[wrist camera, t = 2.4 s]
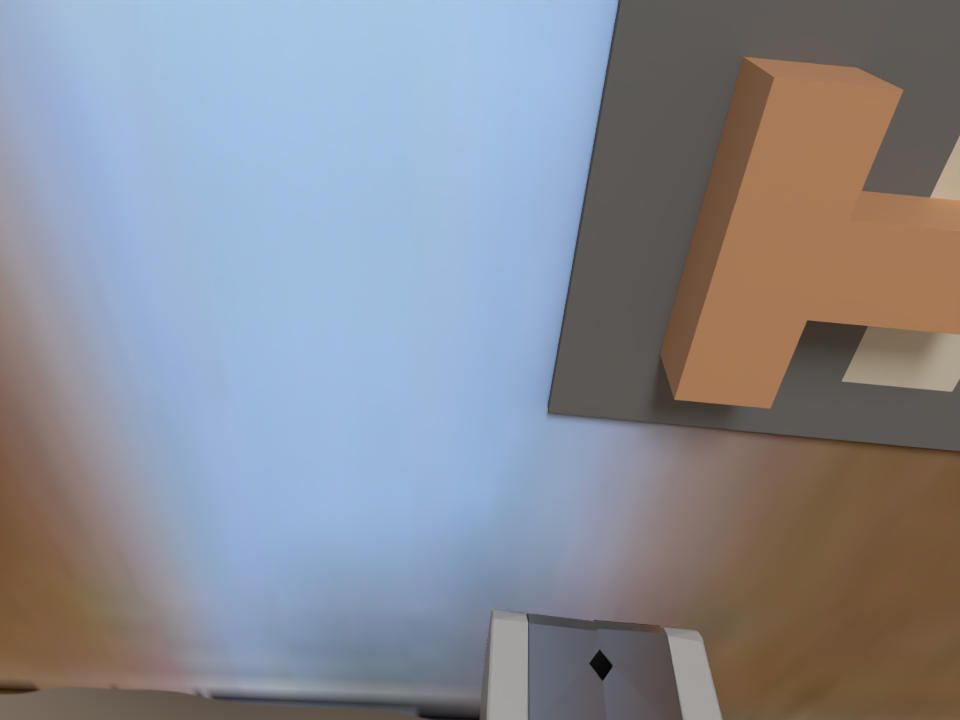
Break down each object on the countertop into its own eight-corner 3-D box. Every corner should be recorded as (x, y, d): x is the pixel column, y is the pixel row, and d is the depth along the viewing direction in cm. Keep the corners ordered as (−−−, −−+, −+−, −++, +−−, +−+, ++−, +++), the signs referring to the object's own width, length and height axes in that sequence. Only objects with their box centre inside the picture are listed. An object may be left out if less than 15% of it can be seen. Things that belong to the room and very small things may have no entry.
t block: (660, 353, 27) (674, 399, 24) (743, 56, 20) (774, 77, 18) (908, 377, 27) (948, 425, 24) (1067, 87, 20) (1142, 113, 18)
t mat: (547, 405, 29) (548, 412, 29) (635, -94, 19) (637, -94, 18) (1116, 458, 29) (1125, 466, 29) (1510, -9, 19) (1532, -7, 18)
